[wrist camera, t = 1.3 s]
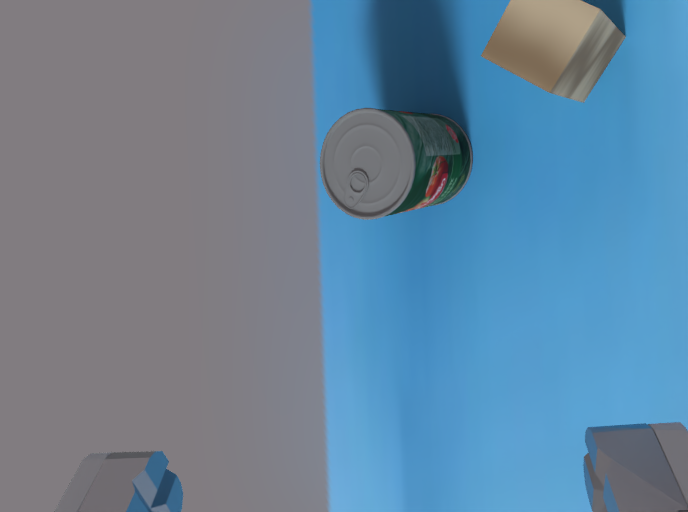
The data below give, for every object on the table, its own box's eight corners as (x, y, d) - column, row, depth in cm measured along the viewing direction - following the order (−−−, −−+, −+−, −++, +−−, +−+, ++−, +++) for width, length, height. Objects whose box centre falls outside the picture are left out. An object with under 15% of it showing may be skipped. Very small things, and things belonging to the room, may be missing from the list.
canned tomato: (412, 98, 49) (342, 89, 40) (489, 138, 46) (432, 137, 37) (377, 180, 52) (305, 188, 43) (447, 222, 49) (385, 239, 40)
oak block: (563, 8, 41) (524, -26, 33) (625, 36, 39) (600, 9, 31) (526, 72, 44) (480, 56, 35) (583, 102, 42) (549, 92, 33)
